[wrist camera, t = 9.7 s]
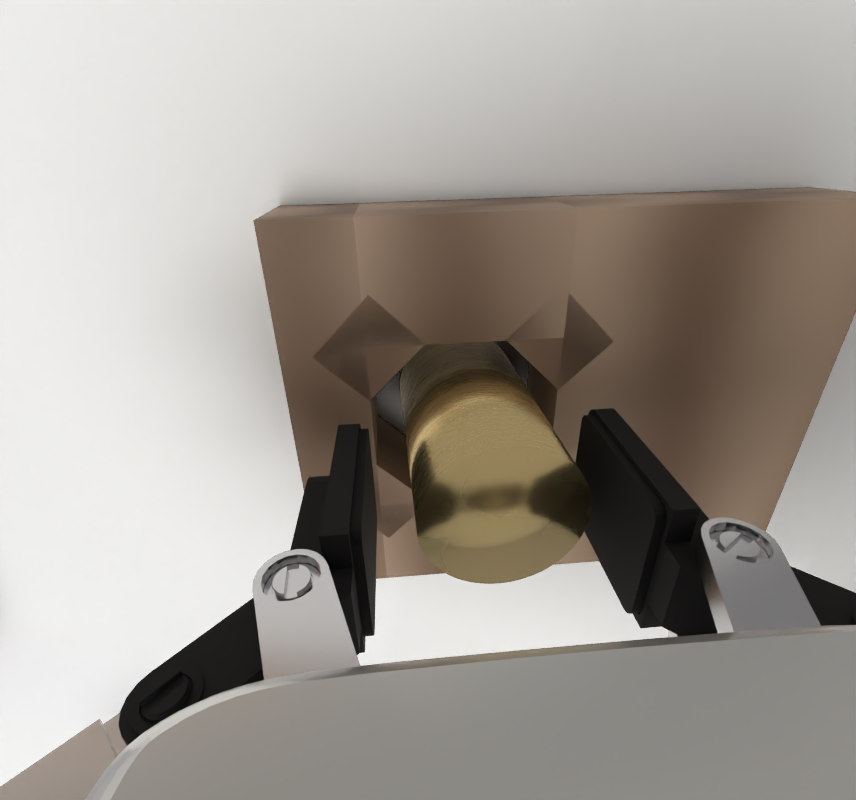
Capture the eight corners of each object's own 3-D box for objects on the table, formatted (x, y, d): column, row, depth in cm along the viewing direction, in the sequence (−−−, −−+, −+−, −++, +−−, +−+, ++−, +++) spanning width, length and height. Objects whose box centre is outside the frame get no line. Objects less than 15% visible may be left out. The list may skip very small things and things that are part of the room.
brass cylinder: (515, 326, 16) (604, 438, 10) (508, 428, 18) (579, 574, 12) (396, 333, 16) (413, 454, 10) (402, 436, 18) (419, 591, 12)
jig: (809, 187, 15) (902, 196, 12) (710, 495, 20) (758, 548, 18) (279, 206, 14) (253, 220, 11) (329, 523, 19) (321, 582, 17)
